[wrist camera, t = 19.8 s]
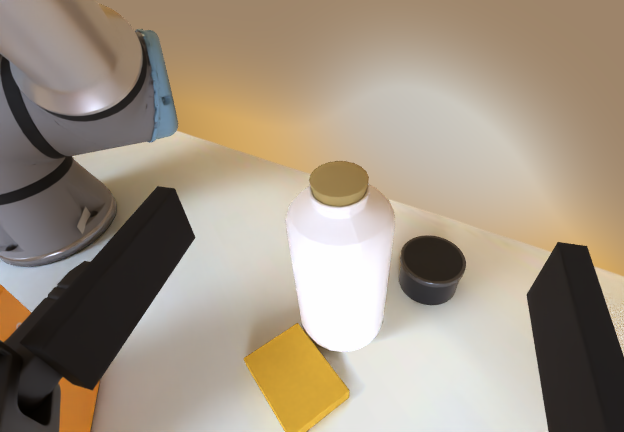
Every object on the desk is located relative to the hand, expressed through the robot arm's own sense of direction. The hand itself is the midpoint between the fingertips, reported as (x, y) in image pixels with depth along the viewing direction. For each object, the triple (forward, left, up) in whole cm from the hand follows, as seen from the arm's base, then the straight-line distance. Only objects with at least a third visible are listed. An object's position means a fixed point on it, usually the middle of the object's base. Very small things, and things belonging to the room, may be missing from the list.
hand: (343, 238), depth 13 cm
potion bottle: (-9, +7, -24) cm, 26 cm away
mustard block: (-6, -1, -24) cm, 25 cm away
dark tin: (-7, +17, -24) cm, 30 cm away
